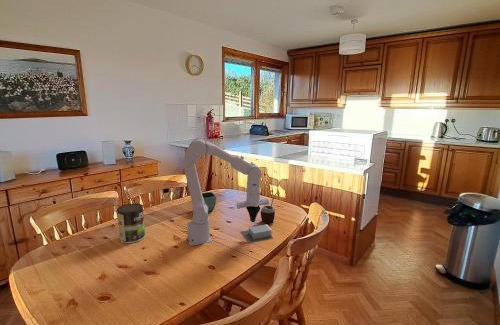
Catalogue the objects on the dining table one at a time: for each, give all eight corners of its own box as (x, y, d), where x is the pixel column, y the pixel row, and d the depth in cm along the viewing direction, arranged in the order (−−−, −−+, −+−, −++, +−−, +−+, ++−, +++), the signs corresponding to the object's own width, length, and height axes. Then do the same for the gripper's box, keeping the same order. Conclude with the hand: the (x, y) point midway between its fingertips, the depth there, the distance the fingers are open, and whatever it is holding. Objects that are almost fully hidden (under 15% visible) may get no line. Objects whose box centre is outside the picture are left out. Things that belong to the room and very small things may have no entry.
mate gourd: (259, 224, 128) (259, 196, 125) (262, 218, 136) (263, 190, 132) (274, 226, 126) (275, 197, 123) (276, 219, 134) (277, 192, 131)
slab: (253, 233, 113) (272, 230, 116) (248, 227, 118) (266, 224, 121) (253, 239, 113) (272, 235, 117) (248, 232, 119) (266, 229, 122)
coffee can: (150, 233, 118) (148, 204, 115) (136, 244, 108) (133, 213, 105) (130, 230, 120) (127, 202, 117) (114, 241, 110) (111, 211, 107)
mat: (248, 244, 110) (248, 243, 110) (239, 232, 120) (239, 231, 120) (273, 239, 114) (273, 238, 114) (263, 228, 124) (263, 227, 124)
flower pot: (197, 208, 146) (196, 193, 144) (212, 206, 150) (211, 191, 148) (201, 214, 139) (200, 198, 137) (216, 211, 142) (216, 196, 140)
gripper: (240, 197, 105) (240, 227, 108) (272, 193, 111) (271, 222, 114) (235, 191, 112) (234, 220, 115) (265, 188, 117) (264, 216, 120)
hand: (252, 221), depth 115 cm, fingers closed
